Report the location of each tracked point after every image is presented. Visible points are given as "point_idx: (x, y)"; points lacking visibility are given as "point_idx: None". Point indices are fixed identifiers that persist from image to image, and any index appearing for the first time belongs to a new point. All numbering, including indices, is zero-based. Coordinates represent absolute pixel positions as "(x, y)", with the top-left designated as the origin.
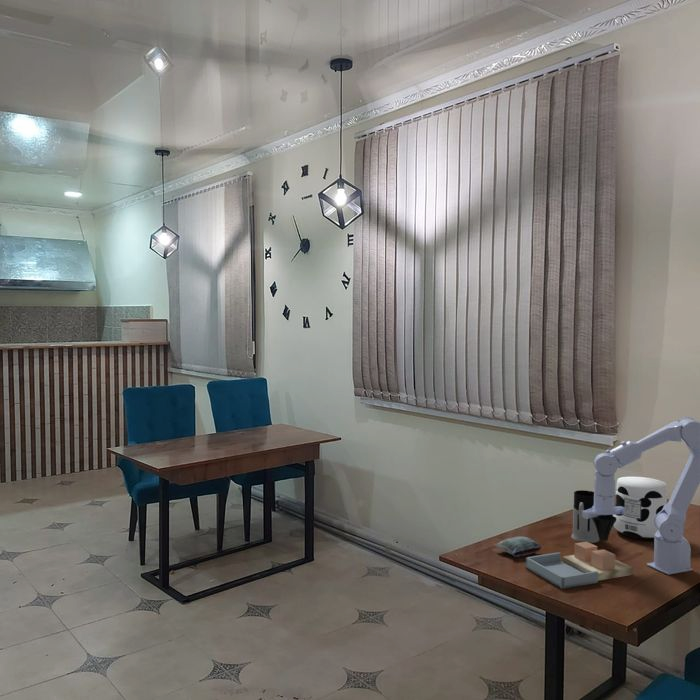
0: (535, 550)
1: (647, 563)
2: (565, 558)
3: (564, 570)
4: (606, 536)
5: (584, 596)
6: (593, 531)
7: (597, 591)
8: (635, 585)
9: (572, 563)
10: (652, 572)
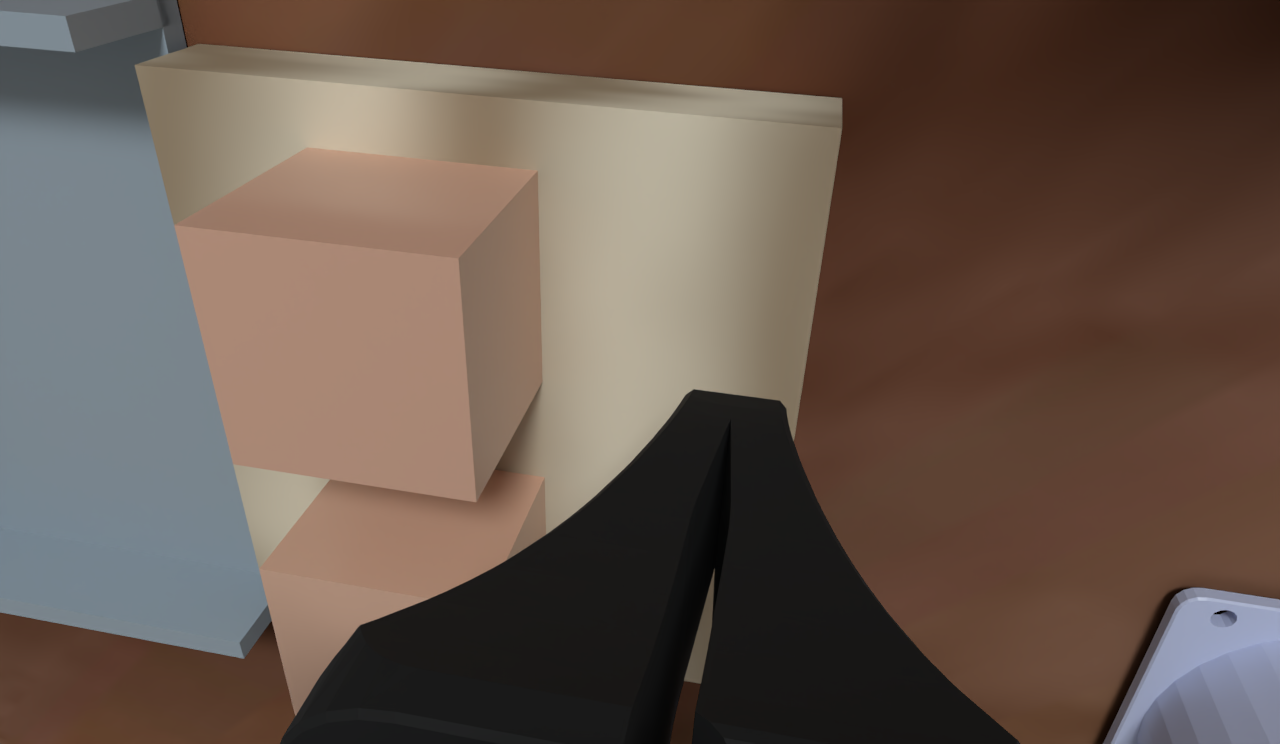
0: None
1: (1198, 603)
2: (153, 137)
3: (81, 294)
4: (705, 594)
5: (66, 657)
6: None
7: (203, 659)
8: None
9: None
10: (1013, 692)
